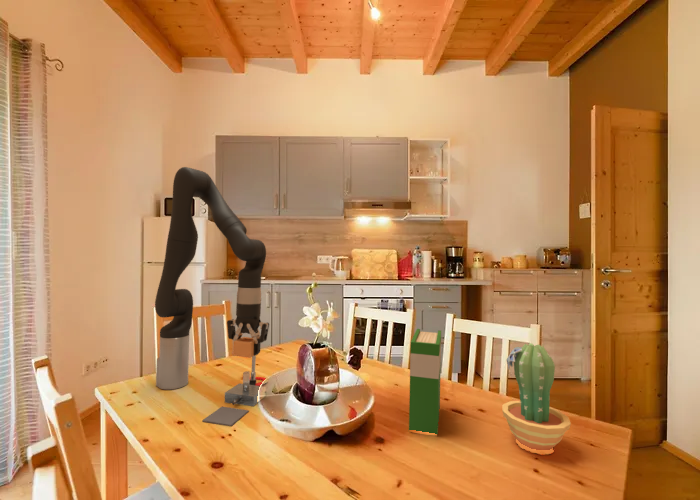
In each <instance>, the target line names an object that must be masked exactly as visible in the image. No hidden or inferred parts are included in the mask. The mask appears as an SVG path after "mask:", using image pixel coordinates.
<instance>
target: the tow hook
mask: <svg viewBox="0 0 700 500" xmlns="http://www.w3.org/2000/svg"><path fill="white" fill-rule="evenodd" d="M256 358H257V355H256V356H255V355H254V356H253V357H251V372H250V383H249V385H256V386H260V385H261V384H262V382H263V381H264V380H265V379H266V377H264V376H256ZM257 381H260V382H257Z"/></svg>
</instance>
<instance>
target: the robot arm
mask: <svg viewBox="0 0 700 500" xmlns="http://www.w3.org/2000/svg"><path fill="white" fill-rule="evenodd" d="M172 184H173V185H172V203H171V205H172V206H171V213H170V214H171V215H170V224H169V229H168V234H167V240H166V248H165V255H164V261H163V265H162V266H163V267H162V272H161V276H160V281H159V283H158V287H157V290H156V294H155V295H156V296H155V301H154V309H155V313H156V315H157V316H158V317H160V318H171V317H173V318H172V319H171V321H170V322H169V323H167V324H165V325H164V326H162V327H161V328H160V330H159V354H158V355H159V356H158V357H157V358H156V366H155V367H156V369H155V370H156V371H155V372H156V374H155V387H158V388H159V389H161V390H176V389H179V388H180V389H181V388H183V387H185V386H187V385H188V384H189V365H190V364H189V360H190V359H189V358H190V330H191V328H192V325H193V324H192V323H193V311H194V297H193V295H192V293H191V291H190V290H189V289H186V288H177V284H178V283H179V282H178V281H179V279H180V277H181V275H182V274H183V272H185V270H186V269H187V268H188V266H190V264H191V263H192V261H193V260H194V258H195V256H196V252H197V247H198V238H199V234H198V230H197V227H196V224H195V221H194V219H193V214H192V210H193V209H192V206H193V199H194V198H199V199H200V200H201V201H202V202H203V203H204V204H206V205H207V207H208V208H209V209H210V211H211V215H212V220H213V222H214V224H215V226H216V227H217V229H218V230H219V231H220V232H221V234H222V235H223V236H224V237H225V238H226V240H227V241H228V242H227V243H228V244H229V246H230V248H231V251H232V252H233V254H234V255H235V257H237V258H238V259H239V260H241V261H244V262H245V264H244V267H243V268H242V269H240V271H239V272H238V277H237V278H238V279H237V283H238V284H237V293H236V305H235V306H236V308H235V316H236V317H235V318H232V319H229V320H227V321H226V327H227V336H228V339H229V340H232V341H233V342H234V341H236V340H238V339H240V338H242V336H243V335H244V334H249V335H250V338H253V340H254V343H255V344H254V355H255V356H256V357H257V356H258V355H260V353H261V344H262V343H264V342H266V341H267V339H268V334H269V328H270V323H269V322H263V321H261V309H262V307H261V305H262V272H263V269H264V265H265V262H266V258H267V257H266V256H267V249H266V245H265V243H264V242H263V241H262V240H260V239H254V238H249V236H248V235H247V231H248V230H247V227H246V226H245V224H244V223H243V222H242V221H241V220H240V218H239V217H238V216H237V215H236V214H235V213H234V212H233V210H232V209H231V208H230V205H228V204H227V202H226V200H225V199H224V197H223V195H222V194H221V192H220V190H219V189H218V187H217V185H216V184H215V182H214V180H213V179H212V177H211V176H210V174H208V173H206V172H205V171H203V170H200V169H197V168H191V167H187V166H183V167H180V168H179V169H178V170H177V171H176V173H175V175H174V179H173V183H172ZM176 288H177V289H176ZM236 326H237V329H236ZM259 328H260V330H259Z"/></svg>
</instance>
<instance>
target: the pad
mask: <svg viewBox="0 0 700 500" xmlns="http://www.w3.org/2000/svg"><path fill="white" fill-rule="evenodd" d="M249 412H250V410H249V409H242V408H234V407H230V406H229V407H228V406H221V407H219V408H218V409H216V410H215V411H213V412H211V413H210V414H209V415H208V416H206V417H205V418H204V419H202V422H203V423H206V424H207V423H208V424H213V425H214V424H215V425H218V426H219V425H220V426H226V427H232V426H233V425H235V424H236V423H238V422H239V421H240V420H241V419H242V418H244V417H245V416H246V415H247V414H248V413H249Z"/></svg>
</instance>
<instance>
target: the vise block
mask: <svg viewBox="0 0 700 500" xmlns="http://www.w3.org/2000/svg"><path fill="white" fill-rule="evenodd" d="M242 374H243V375H242V383H238V384H236V385H234V386H233V387H231V388H230V389H228V390H227V391H225V392H224V403H226V404H232V405H233V406H235V405H239V406H247V407H248V406H249V407H255V406H256V405H257V404H258V403H257V396H258V390H259V387H260V386H256V385H249V383H250V377H251V372H250V371H249V370H248V371H243V372H242Z"/></svg>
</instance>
